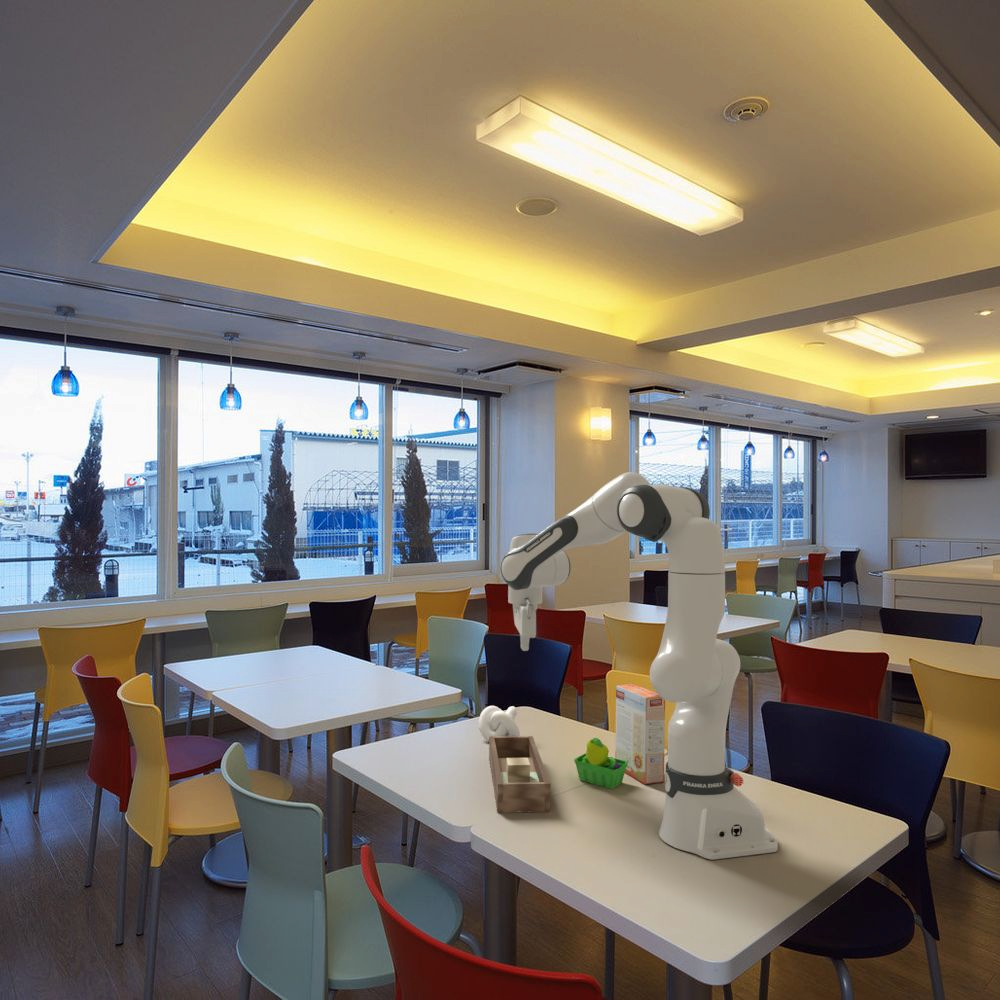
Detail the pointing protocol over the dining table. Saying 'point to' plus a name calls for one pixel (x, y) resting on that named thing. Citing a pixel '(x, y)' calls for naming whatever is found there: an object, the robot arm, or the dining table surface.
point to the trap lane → (518, 793)
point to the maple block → (517, 770)
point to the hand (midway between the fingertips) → (524, 649)
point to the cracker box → (640, 732)
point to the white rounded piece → (498, 722)
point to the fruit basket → (600, 765)
